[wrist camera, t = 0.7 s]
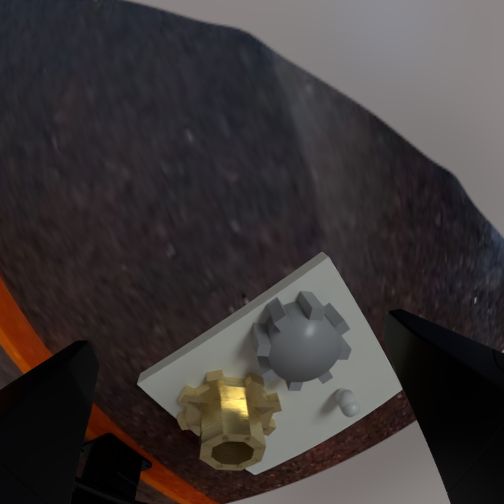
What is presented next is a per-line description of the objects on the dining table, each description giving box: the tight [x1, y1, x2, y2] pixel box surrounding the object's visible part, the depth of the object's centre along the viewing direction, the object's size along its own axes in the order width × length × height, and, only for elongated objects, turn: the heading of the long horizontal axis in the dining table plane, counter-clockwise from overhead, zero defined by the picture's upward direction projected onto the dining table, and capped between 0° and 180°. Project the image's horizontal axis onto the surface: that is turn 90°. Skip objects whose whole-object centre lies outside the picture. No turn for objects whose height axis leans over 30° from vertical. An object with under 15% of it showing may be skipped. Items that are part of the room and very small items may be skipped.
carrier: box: [137, 252, 402, 475], centre depth 23 cm, size 18×17×5 cm
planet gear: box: [177, 369, 282, 470], centre depth 21 cm, size 8×8×5 cm
